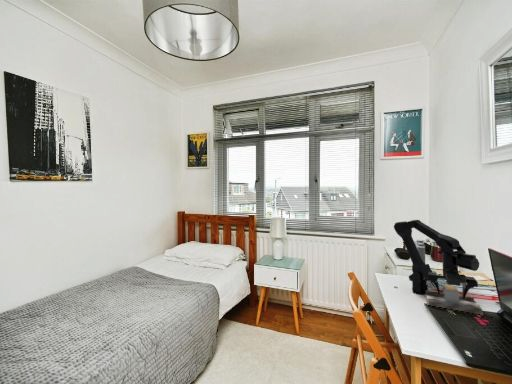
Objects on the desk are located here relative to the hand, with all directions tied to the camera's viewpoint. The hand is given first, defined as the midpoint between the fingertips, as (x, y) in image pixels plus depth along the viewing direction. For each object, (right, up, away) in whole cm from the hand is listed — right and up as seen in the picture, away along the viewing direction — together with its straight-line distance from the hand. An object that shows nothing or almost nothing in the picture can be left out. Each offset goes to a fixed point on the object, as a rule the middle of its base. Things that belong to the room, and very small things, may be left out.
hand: (451, 296), depth 115 cm
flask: (+6, -4, +29) cm, 30 cm away
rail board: (0, -4, 0) cm, 4 cm away
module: (0, -2, 0) cm, 2 cm away
